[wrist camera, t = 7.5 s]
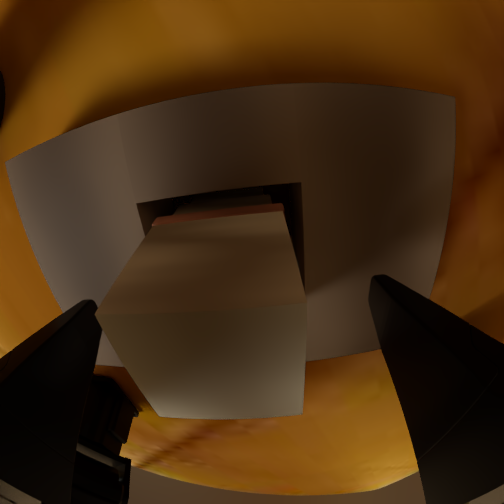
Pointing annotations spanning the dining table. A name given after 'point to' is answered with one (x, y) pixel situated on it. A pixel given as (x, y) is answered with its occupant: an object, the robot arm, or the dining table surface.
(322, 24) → the dining table surface
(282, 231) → the wooden post
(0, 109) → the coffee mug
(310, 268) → the grey block with hole
